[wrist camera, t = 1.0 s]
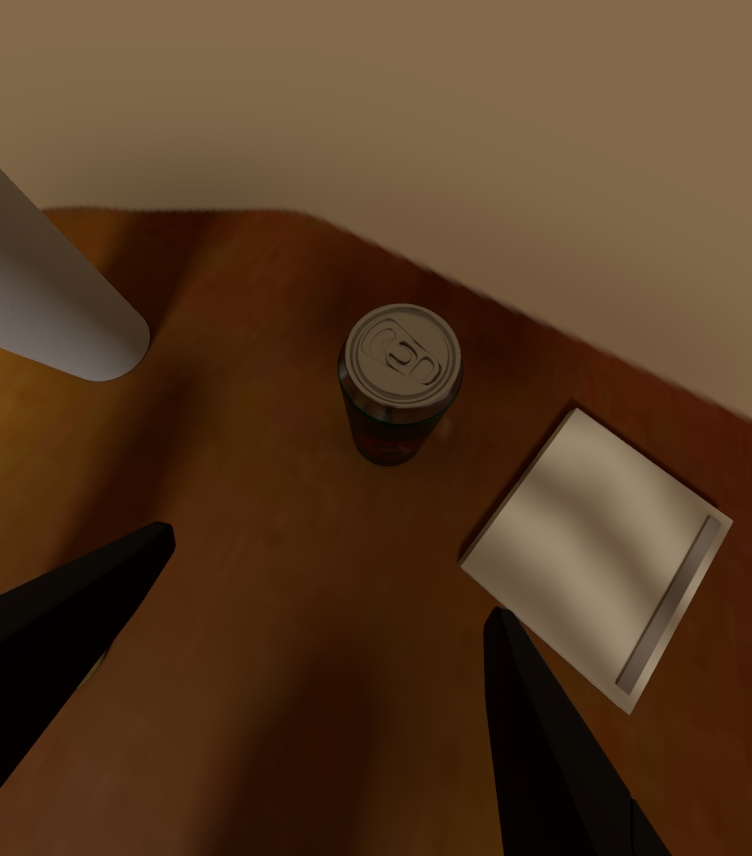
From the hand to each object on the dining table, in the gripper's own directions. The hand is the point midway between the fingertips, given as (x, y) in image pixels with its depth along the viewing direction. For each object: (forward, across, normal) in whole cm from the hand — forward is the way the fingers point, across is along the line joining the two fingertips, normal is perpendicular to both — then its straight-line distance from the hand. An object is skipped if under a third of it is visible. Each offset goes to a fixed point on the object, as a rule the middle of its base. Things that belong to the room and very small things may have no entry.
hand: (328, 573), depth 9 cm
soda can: (+15, -1, +4) cm, 15 cm away
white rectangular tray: (+12, -16, +7) cm, 21 cm away
